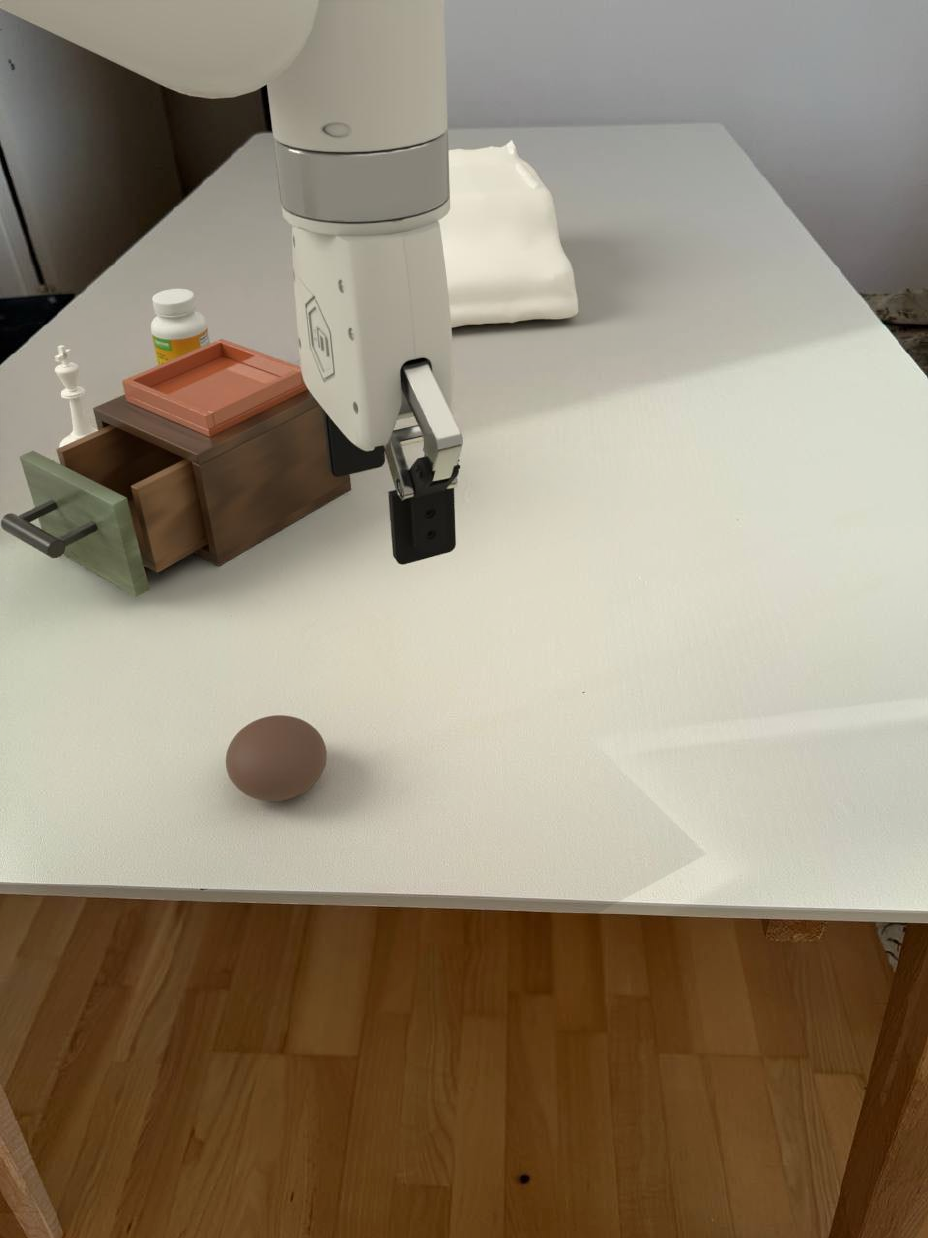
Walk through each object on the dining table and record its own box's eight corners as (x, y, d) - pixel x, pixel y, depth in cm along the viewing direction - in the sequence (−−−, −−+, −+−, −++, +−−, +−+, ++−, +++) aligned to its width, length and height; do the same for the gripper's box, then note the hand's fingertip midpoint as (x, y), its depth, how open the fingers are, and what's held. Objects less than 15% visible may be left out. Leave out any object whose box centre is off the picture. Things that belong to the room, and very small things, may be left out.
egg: (346, 793, 66) (340, 743, 63) (254, 833, 63) (243, 783, 61) (305, 734, 70) (297, 686, 67) (217, 770, 67) (205, 721, 65)
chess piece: (48, 456, 100) (19, 353, 94) (82, 432, 104) (56, 332, 98) (92, 465, 99) (65, 361, 93) (125, 440, 102) (101, 339, 96)
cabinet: (219, 566, 85) (197, 454, 79) (119, 514, 92) (92, 407, 86) (351, 489, 94) (340, 383, 88) (251, 446, 101) (235, 345, 95)
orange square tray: (210, 437, 81) (206, 415, 80) (126, 401, 87) (121, 380, 86) (308, 389, 88) (306, 368, 87) (225, 358, 93) (221, 338, 92)
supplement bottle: (155, 399, 109) (135, 305, 104) (175, 376, 114) (157, 284, 108) (206, 402, 109) (189, 307, 103) (224, 378, 113) (209, 286, 107)
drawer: (88, 624, 78) (60, 530, 73) (-2, 568, 84) (-32, 478, 79) (273, 518, 89) (259, 431, 84) (181, 476, 95) (164, 392, 90)
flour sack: (530, 239, 145) (531, 132, 137) (583, 326, 121) (588, 201, 113) (387, 251, 143) (379, 142, 135) (411, 340, 119) (404, 215, 111)
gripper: (229, 143, 53) (274, 456, 64) (350, 246, 41) (382, 616, 51) (374, 124, 56) (394, 428, 66) (530, 216, 43) (525, 575, 53)
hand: (389, 510), depth 58 cm, fingers open, 9 cm apart
